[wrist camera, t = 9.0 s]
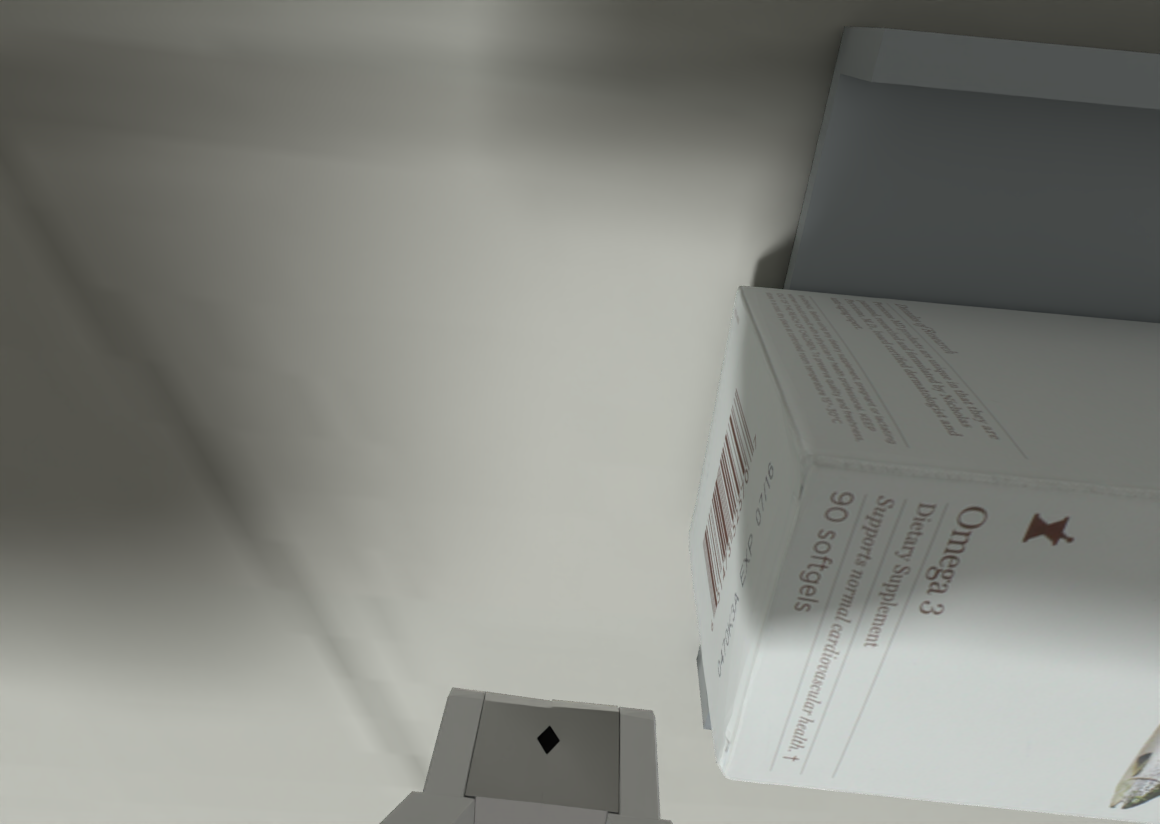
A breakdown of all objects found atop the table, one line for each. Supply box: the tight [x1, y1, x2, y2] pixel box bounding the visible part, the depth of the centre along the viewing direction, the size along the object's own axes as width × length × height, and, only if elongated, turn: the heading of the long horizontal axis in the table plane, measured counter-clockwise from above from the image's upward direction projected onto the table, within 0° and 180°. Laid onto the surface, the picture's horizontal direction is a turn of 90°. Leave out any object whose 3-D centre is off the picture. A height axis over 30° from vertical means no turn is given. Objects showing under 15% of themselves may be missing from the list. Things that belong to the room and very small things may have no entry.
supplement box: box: [689, 286, 1160, 824], centre depth 14 cm, size 7×7×13 cm
